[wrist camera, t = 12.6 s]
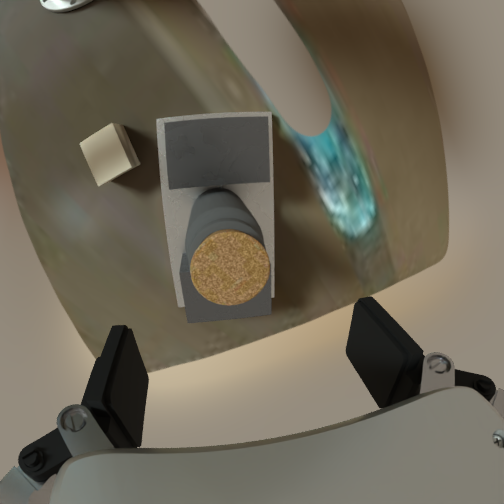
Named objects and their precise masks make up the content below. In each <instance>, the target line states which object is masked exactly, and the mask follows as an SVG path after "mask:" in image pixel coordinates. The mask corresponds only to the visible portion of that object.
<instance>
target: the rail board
mask: <svg viewBox="0 0 504 504" xmlns="http://www.w3.org/2000/svg"><path fill="white" fill-rule="evenodd" d="M156 121H157V140H158V155H159V168H160V180H161V190H162V200H163V209H164V217H165V226H166V233H167V241H168V248H169V254H170V261H171V267H172V274H173V280H174V285H175V291H176V297H177V302H178V307H185V310H186V316H187V321H188V323H196V322H207V321H218V320H228V319H237V318H246V317H254V316H262V315H270V314H271V298H274V182H273V140H272V112H231V113H212V114H198V115H187V116H177V117H169V118H161V119H156ZM212 188H225V189H228V190H230V191H232V192H234V193H235V194H236V195H238V197H239V198H240V199H241V200H242V201H243V203H244V204H245V205H246V207H247V208H248V209H249V211H250V212H251V214H252V215H253V216H254V218H255V219H256V221H257V222H258V224H259V226H260V228H261V230H262V234H263V239H264V244H265V247H266V252H267V254H268V256H269V261H270V274H269V278H268V280H267V283H266V285H265V286H264V288H263V289H262V290H261V292H259V293H258V294H257V295H256V296H255V297H254V298H252V299H251V300H249V301H247V302H244V303H241V304H238V305H221V304H216V303H213V302H211V301H209V300H207V299H206V298H204V297H203V296H202V295H201V294H200V293H199V292H198V291H197V289H196V288H195V286H194V284H193V282H192V279H191V274H190V267H189V262H188V257H187V254H186V249H185V240H186V233H187V227H188V223H189V218H190V213H191V209H192V206H193V204H194V202H195V200H196V199H197V198H198V196H199V195H201V194H202V193H203V192H205V191H207V190H209V189H212Z"/></svg>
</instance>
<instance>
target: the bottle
mask: <svg viewBox="0 0 504 504" xmlns="http://www.w3.org/2000/svg"><path fill="white" fill-rule="evenodd" d="M185 249H186V254H187V257H188V262H189V267H190V274H191V279H192V282H193V284H194V286H195V288H196V289H197V291H198V292H199V293H200V294H201V295H202V296H203V297H204V298H206V299H207V300H209V301H211V302H213V303H216V304H221V305H238V304H241V303H244V302H247V301H249V300H251V299H252V298H254V297H255V296H256V295H257V294H258V293H259V292H261V290H262V289H263V288H264V286H265V285H266V283H267V280H268V278H269V274H270V261H269V256H268V254H267V252H266V247H265V244H264V239H263V234H262V230H261V228H260V226H259V224H258V222H257V221H256V219H255V218H254V216H253V215H252V214H251V212H250V211H249V209H248V208H247V207H246V205H245V204H244V203H243V201H242V200H241V199H240V198H239V197H238V195H236V194H235V193H234V192H232V191H230V190H228V189H225V188H212V189H209V190H207V191H205V192H203V193H202V194H201V195H199V196H198V198H197V199H196V200H195V202H194V204H193V206H192V209H191V213H190V218H189V223H188V227H187V233H186V240H185Z"/></svg>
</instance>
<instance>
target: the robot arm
mask: <svg viewBox="0 0 504 504" xmlns="http://www.w3.org/2000/svg"><path fill="white" fill-rule="evenodd" d="M91 1H93V0H40V2H41V4H42V6H43V7H44V8H46V9H47V10H49V11H51V12H66V11H71V10H74V9H77V8H79V7H81V6H83V5H86V4H87V3H89V2H91ZM346 354H347V357H348V358H349V360H350V362H351V363H352V365H353V366H354V368H355V370H356V371H357V373H358V374H359V376H360V378H361V379H362V381H363V382H364V384H365V385H366V387H367V389H368V390H369V392H370V394H371V395H372V397H373V398H374V400H375V402H376V403H377V405H378V406H379V408H383V409H380V410H377V411H374V412H371V413H368V414H366V415H363V416H360V417H357V418H353V419H350V420H347V421H343V422H340V423H337V424H333V425H330V426H325V427H322V428H318V429H314V430H310V431H305V432H301V433H297V434H292V435H288V436H282V437H277V438H271V439H265V440H259V441H252V442H245V443H237V444H229V445H218V446H206V447H187V448H137V447H140V446H141V442H142V431H143V421H144V414H145V405H146V397H147V390H148V382H149V379H148V374H147V371H146V369H145V366H144V363H143V361H142V358H141V355H140V352H139V349H138V346H137V343H136V340H135V337H134V334H133V331H132V329H128V327H127V326H126V325H116V326H112V328H111V330H110V333H109V335H108V338H107V341H106V343H105V346H104V349H103V351H102V354H101V357H98V358H97V359H96V361H95V364H94V367H93V370H92V372H91V375H90V378H89V381H88V384H87V387H86V390H85V393H84V396H83V399H82V402H81V405H78V404H75V405H70V406H67V407H65V408H64V409H63V410H62V411H61V412H60V413H59V415H58V417H57V426H58V428H56V429H55V430H53V431H51V432H50V433H48V434H46V435H45V436H43V437H41V438H40V439H38V440H36V441H35V442H33V443H31V444H29V445H28V446H26V447H25V448H23V449H22V451H21V452H20V455H19V459H18V460H19V461H18V463H19V466H18V467H17V468H16V467H15V466H14V467H13V468H12V469H11V470H10V471H9V472H8V473H7V474H6V475H5V477H4V478H3V479H2V480H1V481H0V504H504V390H502V389H500V388H499V389H498V390H496V387H495V384H494V382H493V381H492V380H491V379H490V378H488V377H486V376H483V375H479V374H474V373H469V372H465V371H460V370H456V369H454V363H453V361H452V360H451V359H450V358H449V357H448V356H447V355H445V354H442V353H438V352H434V353H430V354H428V355H426V357H425V356H424V355H423V350H422V349H421V348H420V347H419V345H418V344H417V343H416V342H415V341H414V340H413V339H412V338H411V337H410V336H409V335H408V334H407V332H406V331H405V330H403V328H402V327H401V326H400V325H399V324H398V323H397V322H396V321H395V320H394V319H393V318H392V317H391V316H390V315H389V314H388V313H387V311H386V310H385V309H384V308H383V307H382V306H381V305H380V304H379V303H378V302H377V301H376V300H375V299H374V298H373V297H365V298H360V299H358V301H357V302H356V303H355V305H354V310H353V315H352V321H351V326H350V331H349V337H348V341H347V346H346Z"/></svg>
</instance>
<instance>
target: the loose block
mask: <svg viewBox="0 0 504 504" xmlns="http://www.w3.org/2000/svg"><path fill="white" fill-rule="evenodd" d="M79 144H80V146H81V148H82V151H83V153H84V155H85V158H86V160H87V162H88V165H89V167H90V169H91V171H92V173H93V176H94V178H95V180H96V182H97V184H98V186H101V185H103V184H105V183H108V182H110V181H112V180H113V179H115V178H117V177H119V176H120V175H122V174H124V173H126V172H127V171H129V170H131V169H133V168H135V167H137V166H138V165H140V162H139V160H138V158H137V155H136V153H135V151H134V149H133V147H132V144H131V142H130V140H129V138H128V135H127V133H126V131H125V128H124V126H123V125H120V124H115V123H111V124H109V125H108V126H106V127H104V128H103V129H101V130H100V131H98V132H96V133H95V134H93V135H92V136H90V137H89V138H87V139H85V140H84V141H82V142H81V143H79Z"/></svg>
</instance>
